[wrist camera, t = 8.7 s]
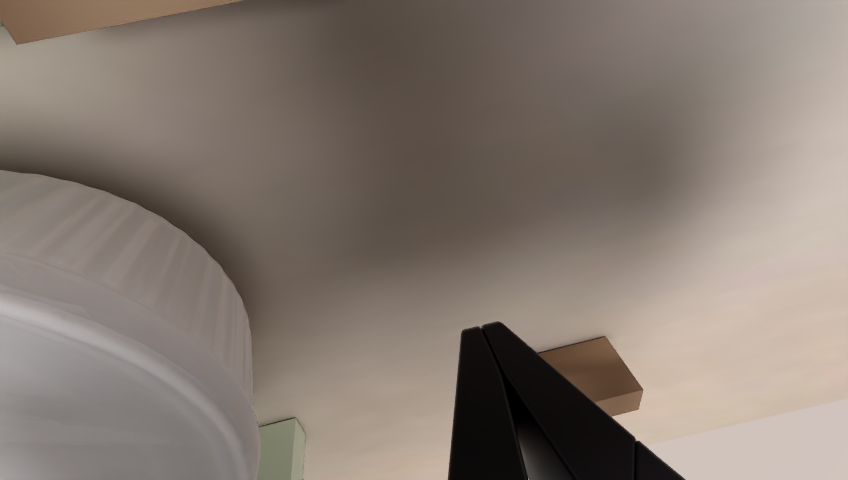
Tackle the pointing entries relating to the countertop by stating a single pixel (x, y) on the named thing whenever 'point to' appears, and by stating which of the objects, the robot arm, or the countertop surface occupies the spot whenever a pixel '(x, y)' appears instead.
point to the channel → (124, 3)
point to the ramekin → (116, 344)
